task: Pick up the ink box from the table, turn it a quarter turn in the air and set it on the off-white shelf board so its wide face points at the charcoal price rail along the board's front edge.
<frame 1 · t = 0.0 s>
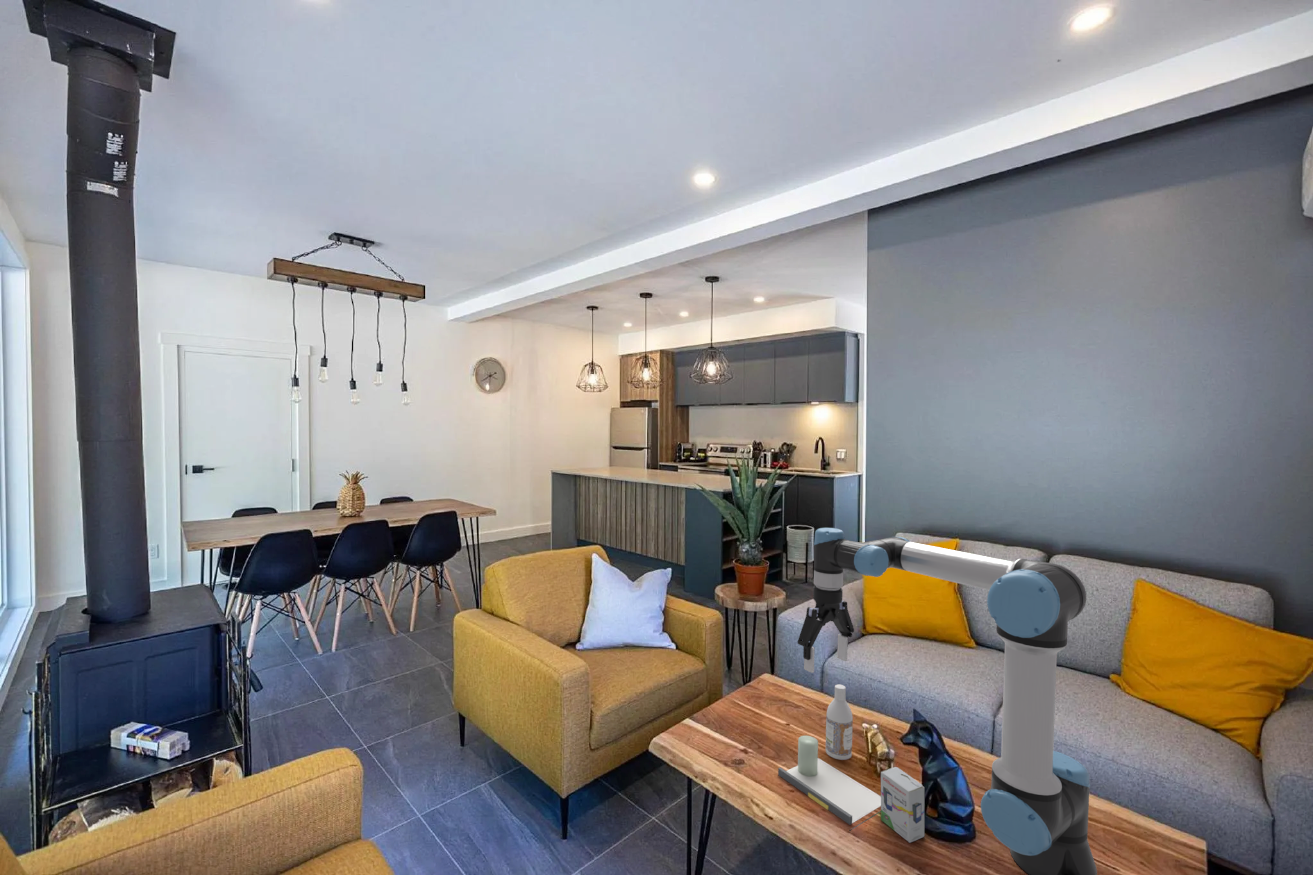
hand: (825, 665, 154), 28 cm above the table, fingers open, 13 cm apart
ink box: (901, 829, 132), on the table
shelf board: (832, 792, 144), on the table
bath foam: (838, 758, 159), on the table
sage canister: (807, 770, 150), point 1 cm above the table, touching shelf board
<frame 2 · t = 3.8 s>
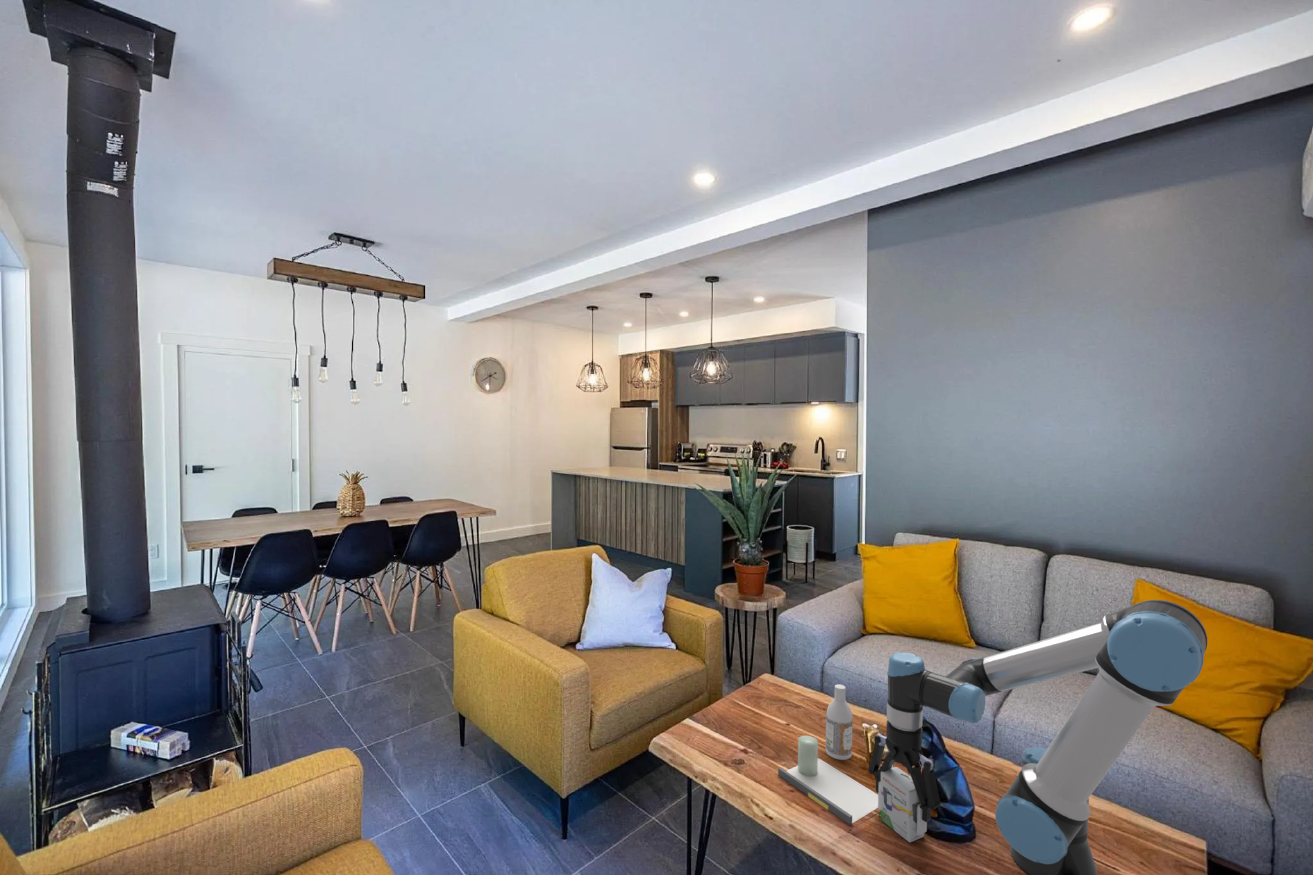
hand: (901, 819, 131), 2 cm above the table, fingers closed on ink box, 9 cm apart
ink box: (901, 829, 132), on the table, touching gripper
everything else where it was.
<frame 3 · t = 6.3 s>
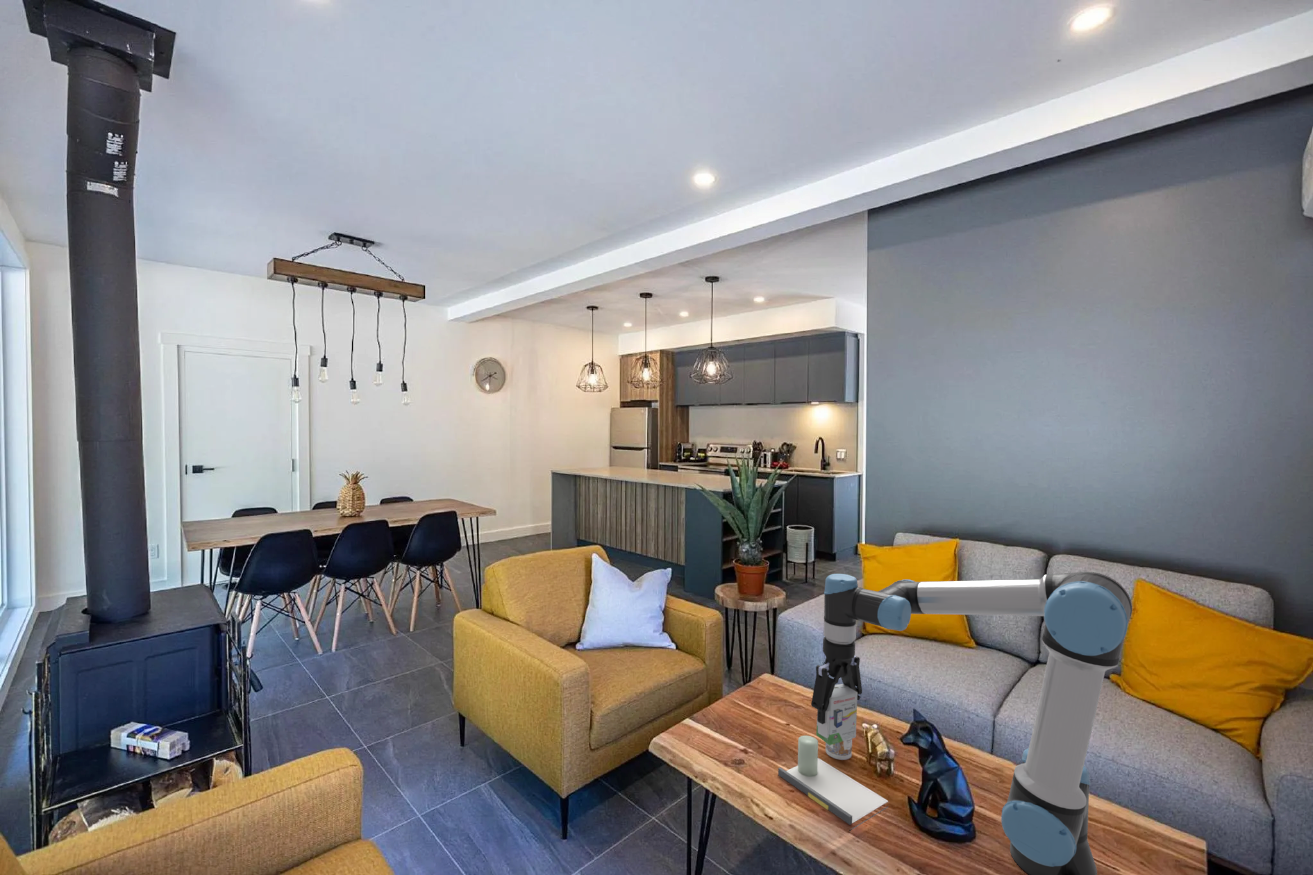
hand: (836, 729, 140), 18 cm above the table, fingers closed on ink box, 9 cm apart
ink box: (835, 737, 140), point 16 cm above the table, touching gripper
everything else where it was.
when the fingers open (4 cm above the table, at t = 9.2 s): ink box moves 1 cm, resting on shelf board.
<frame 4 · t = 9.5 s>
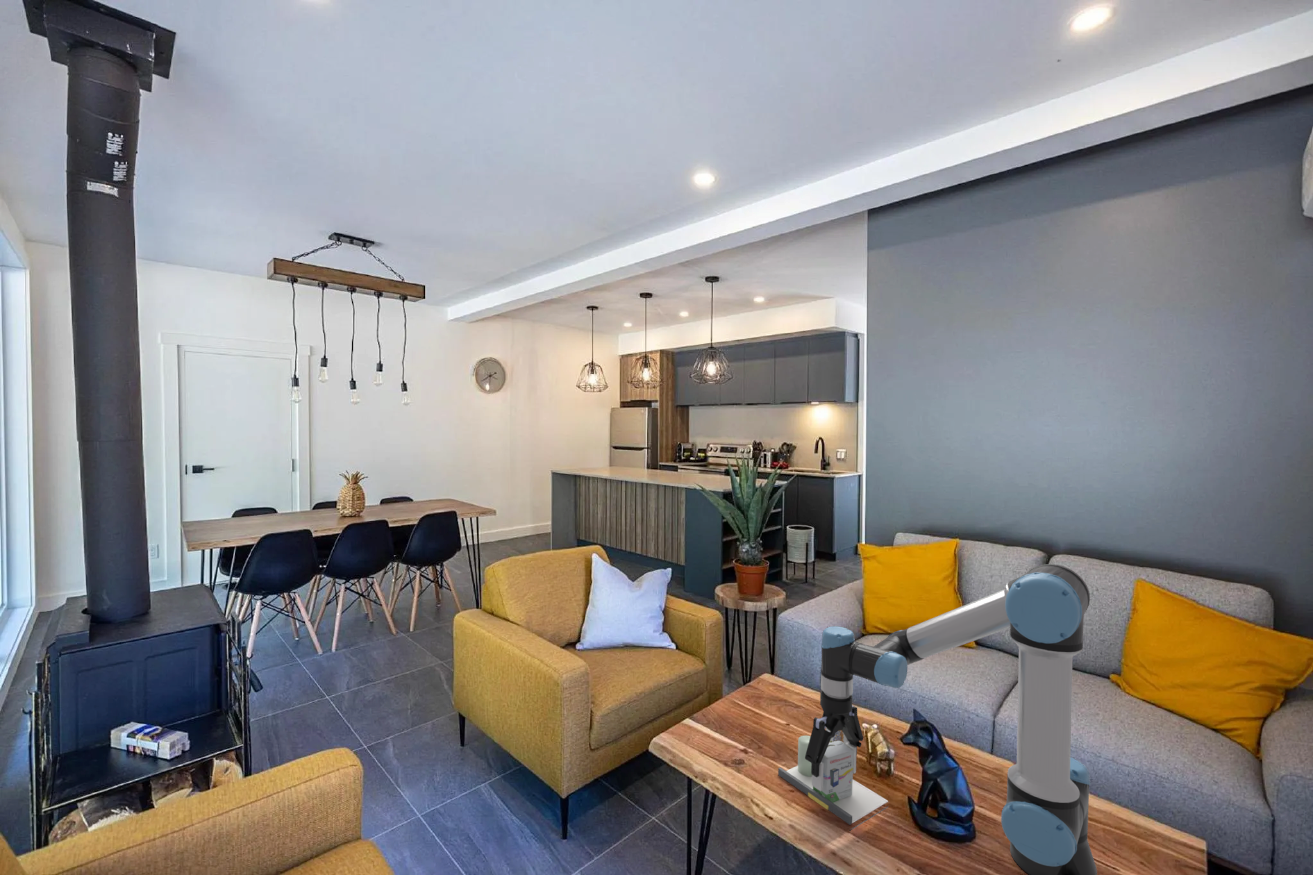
hand: (834, 778, 141), 5 cm above the table, fingers open, 12 cm apart
ink box: (832, 795, 141), point 1 cm above the table, touching shelf board
everything else where it was.
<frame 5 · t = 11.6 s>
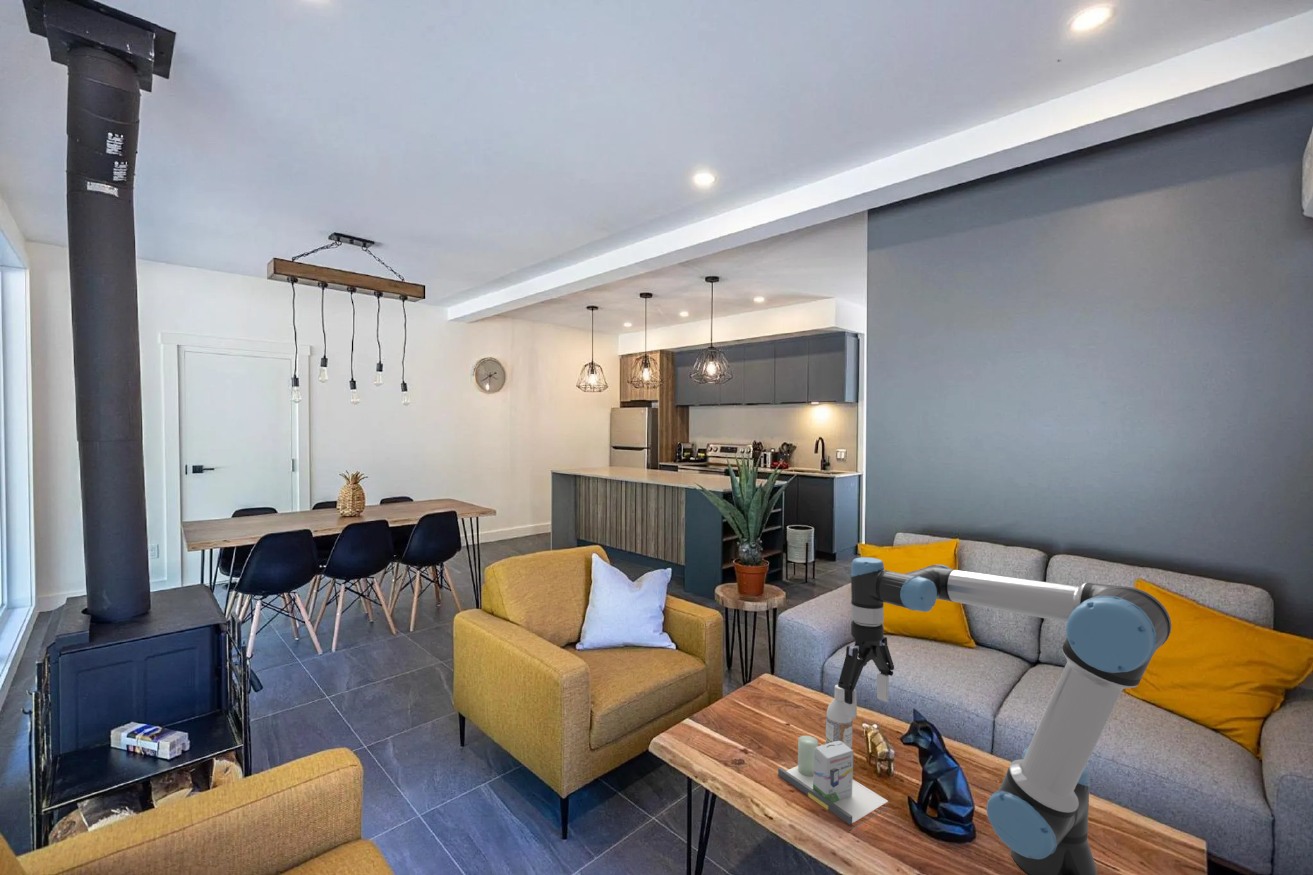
hand: (867, 707, 141), 23 cm above the table, fingers open, 13 cm apart
nothing on the table moved.
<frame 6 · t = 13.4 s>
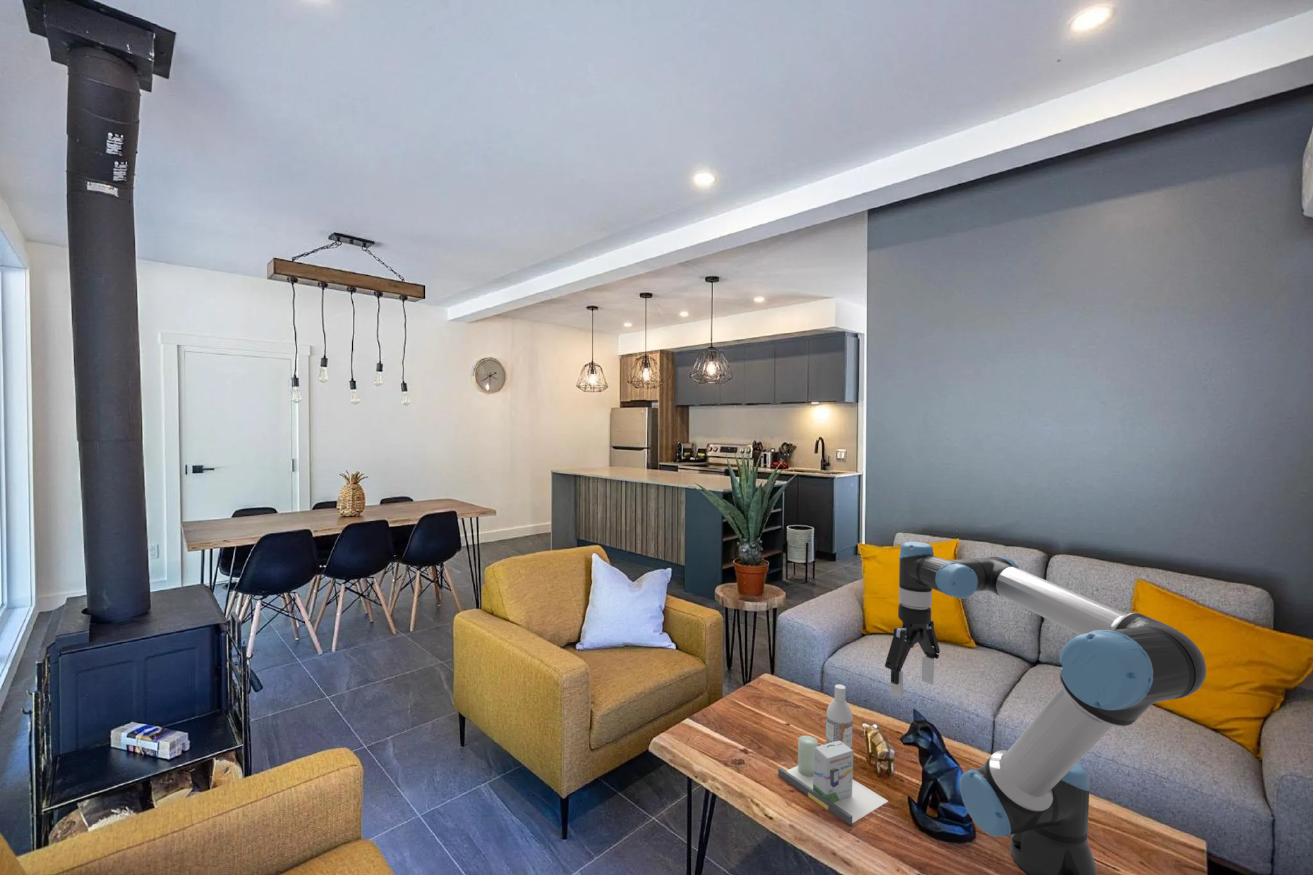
hand: (912, 689, 143), 27 cm above the table, fingers open, 13 cm apart
nothing on the table moved.
at the end: ink box inside the target area (1.1 cm from its centre), point 1.3 cm above the table; ink box tilted 0°; ink box touching shelf board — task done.
